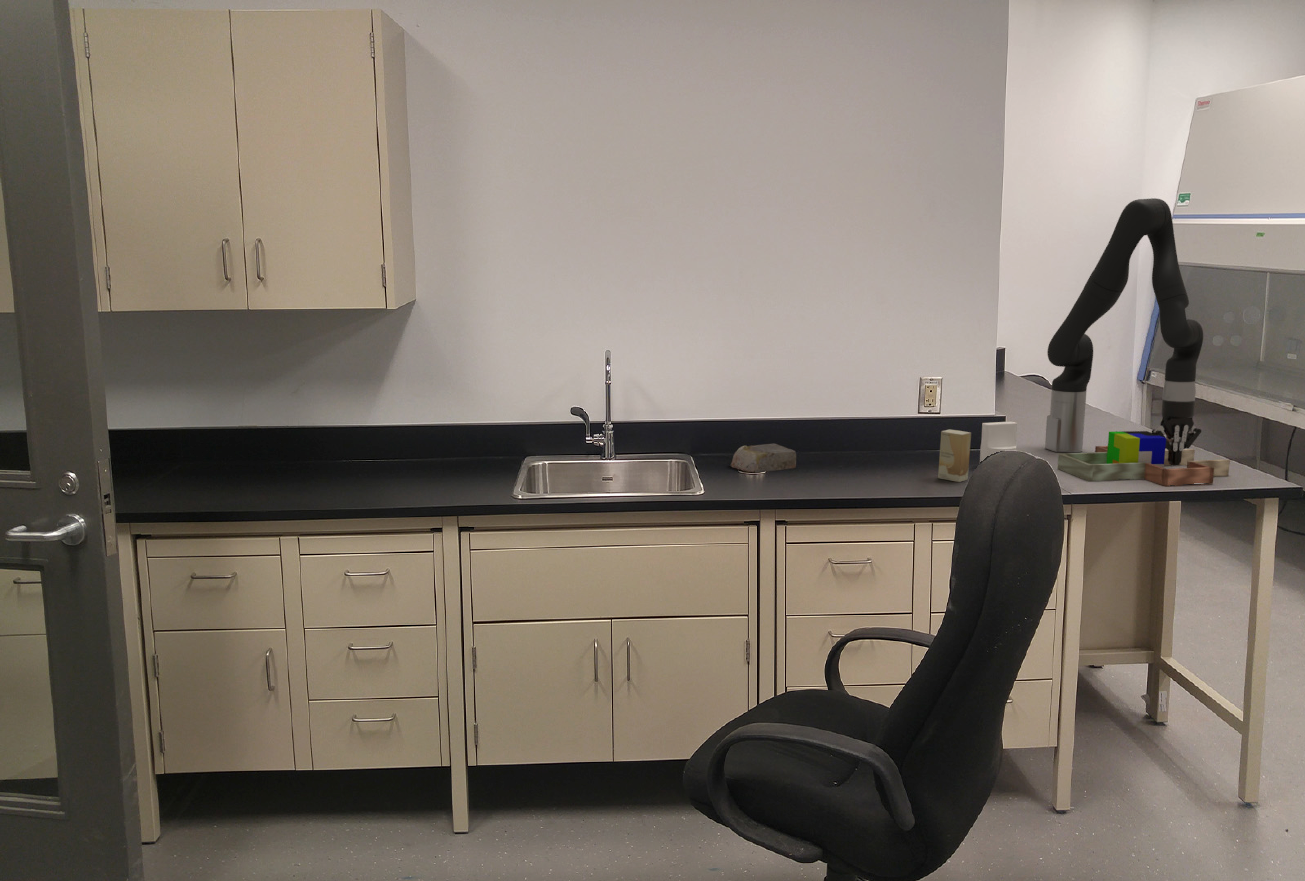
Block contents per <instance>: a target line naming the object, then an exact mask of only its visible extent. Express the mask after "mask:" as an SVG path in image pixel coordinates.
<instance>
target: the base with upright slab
mask: <svg viewBox="0 0 1305 881" xmlns="http://www.w3.org/2000/svg"><path fill="white" fill-rule="evenodd" d="M1017 433H1018V422H1014V421H999V422H998V421H996V422H982V426H981V443H980V449H979V450H980V452H979V463H980V462H981V461H983V460H984V459H985V458H986V457H987V456H990V455H991V454H994V453H996V452H1000V451H1005V450H1016V451H1017V448H1018V447H1017V439H1018V438H1017V435H1018V434H1017Z"/></svg>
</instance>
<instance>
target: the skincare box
mask: <svg viewBox="0 0 1305 881" xmlns="http://www.w3.org/2000/svg"><path fill="white" fill-rule="evenodd" d="M971 439H972V432H970V431H969V432H968V431H964V430H963V431H962V430H957V429H946V430H941V432H940V445H939V458H938V459H939V460H938V461H939V462H938V470H937V471H938V474H937V478H938V479H940V480H946V481H952V482H956V483H960V482H964V481H967V480H968V479H969V466H970V452H971V442H972V441H971Z"/></svg>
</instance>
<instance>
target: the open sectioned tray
mask: <svg viewBox="0 0 1305 881" xmlns="http://www.w3.org/2000/svg"><path fill="white" fill-rule="evenodd" d="M1094 448H1095V450H1094V452H1065V453H1058V459H1057V460H1058V461H1057V470H1060V471H1062V472H1064V473H1067V474H1070V475H1072V476H1074V477H1077V478H1080V479H1082V480H1084V481H1087V482H1096V481H1097V482H1099V481H1100V482H1102V481H1104V482H1105V481H1120V480H1119V479H1130V480H1146V481H1149V482H1152V483H1155V484H1157V483H1158V484H1157V485H1160V486H1162V487H1169V486H1170V485H1175V486H1184V485H1183V484H1194V483H1214V477H1225V476H1229V474H1230V472H1229V471H1230V464H1231V463H1230V462H1231V460H1230V459H1227V458H1226V459H1203V460H1202V459H1201V460H1195V450H1196V449H1193V448H1185V449H1183V451H1182V457H1181V463H1180V464H1179V465H1178V466H1186V467H1185V468H1184V467H1183V468H1182V467H1179V468H1165V466H1168V467H1169V466H1171V465H1170V464H1169V462H1168V449H1165V459H1164V468H1162V467H1159V466H1156V465H1153V464H1150V463H1147V462H1143V463H1115V464H1107V451H1108V445H1098V446H1097V445H1096V446H1095V447H1094ZM1143 478H1144V479H1143ZM1170 487H1171V486H1170Z"/></svg>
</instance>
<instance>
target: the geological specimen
mask: <svg viewBox="0 0 1305 881" xmlns="http://www.w3.org/2000/svg"><path fill="white" fill-rule="evenodd" d="M731 460H732V461H731V463H730V467H731V468H734V469H737V470H740V471H743V472H744V471H745V472H751V473H755V474H757V473H758V474H759V473H764V472H765V473H766V472H773V471H781V470H791V469H795V468H796V466H797V452H796V450H793V449H791V448H787V447H785V446H783V445H780V444H777V443H765V444H757V445H755V444H754V445H748V446H747V445H743V446H740V447H739V448H738V449H737V450H736V451H735V452H734V454H733V457H732V459H731Z"/></svg>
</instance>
